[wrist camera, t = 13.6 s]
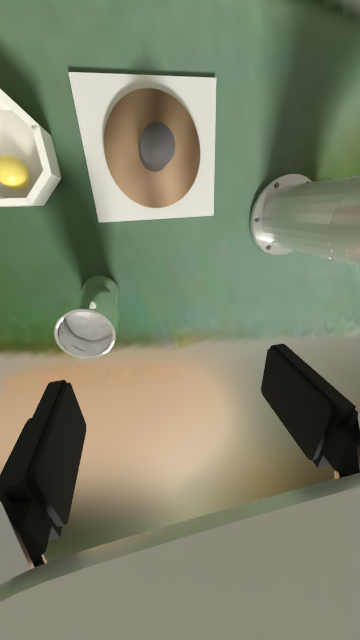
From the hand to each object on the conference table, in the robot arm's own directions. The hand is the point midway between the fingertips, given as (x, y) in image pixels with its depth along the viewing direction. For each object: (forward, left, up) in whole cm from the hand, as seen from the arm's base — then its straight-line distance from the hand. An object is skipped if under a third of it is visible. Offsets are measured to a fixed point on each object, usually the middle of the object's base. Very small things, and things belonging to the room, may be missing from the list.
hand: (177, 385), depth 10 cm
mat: (-3, -14, -30) cm, 34 cm away
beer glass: (+8, +5, -31) cm, 32 cm away
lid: (-3, -14, -30) cm, 33 cm away
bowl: (+15, -14, -31) cm, 37 cm away
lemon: (+14, -14, -29) cm, 35 cm away
